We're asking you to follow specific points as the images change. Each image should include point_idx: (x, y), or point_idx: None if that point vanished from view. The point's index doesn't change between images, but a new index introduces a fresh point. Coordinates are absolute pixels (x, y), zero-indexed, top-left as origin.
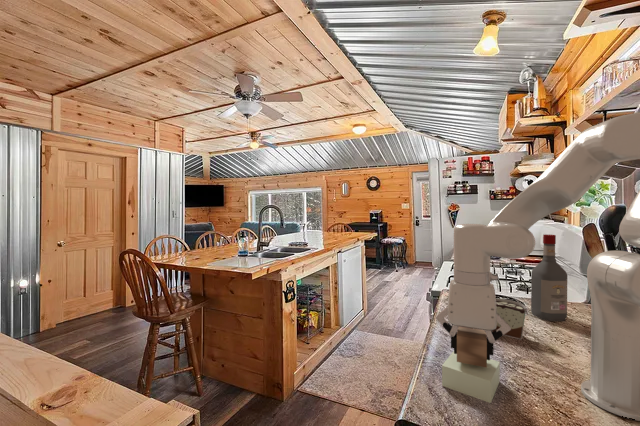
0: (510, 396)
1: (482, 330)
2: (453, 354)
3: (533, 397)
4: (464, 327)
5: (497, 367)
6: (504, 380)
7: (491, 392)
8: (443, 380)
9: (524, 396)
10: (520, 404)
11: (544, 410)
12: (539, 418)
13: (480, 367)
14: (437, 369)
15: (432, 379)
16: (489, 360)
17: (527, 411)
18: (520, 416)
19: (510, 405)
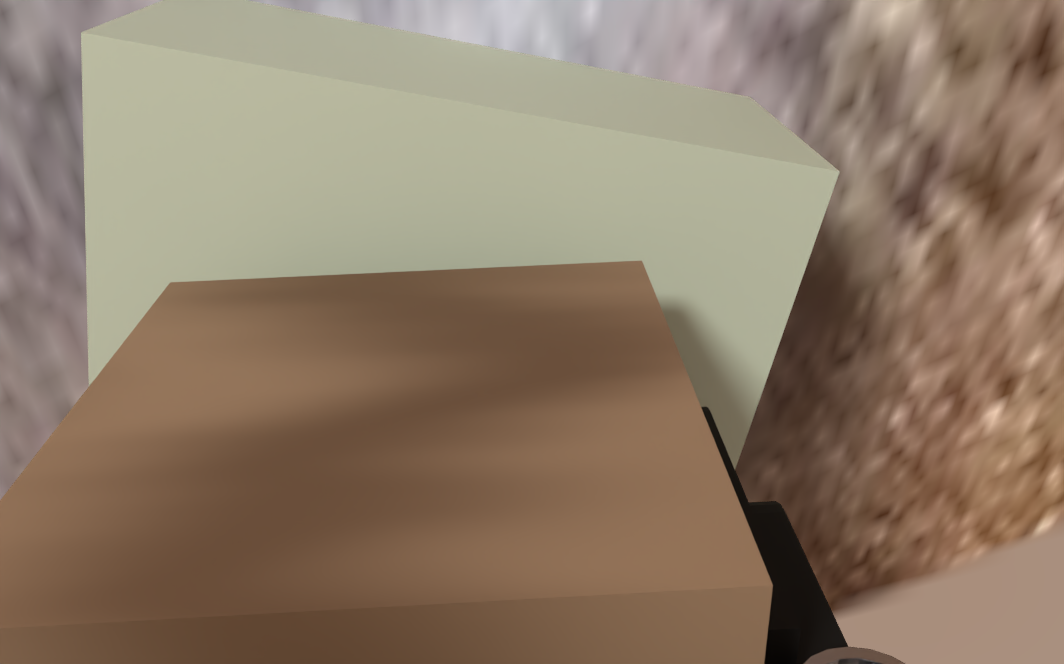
0: (810, 350)
1: (671, 621)
2: (124, 260)
3: (1032, 265)
4: (119, 647)
5: (774, 345)
6: (813, 38)
7: None
8: None
9: (947, 288)
10: (870, 434)
11: (1050, 428)
12: (965, 544)
13: None
14: (8, 166)
15: (50, 409)
16: (685, 203)
17: (900, 501)
18: (827, 582)
19: (781, 485)
